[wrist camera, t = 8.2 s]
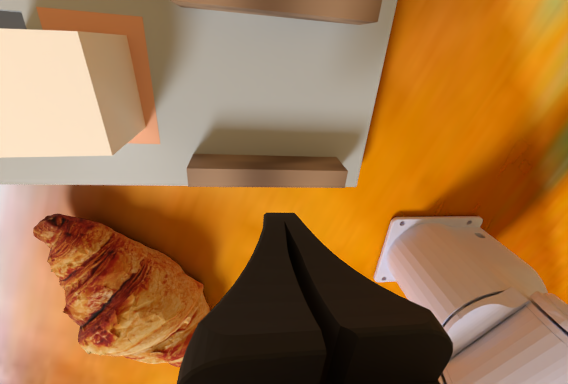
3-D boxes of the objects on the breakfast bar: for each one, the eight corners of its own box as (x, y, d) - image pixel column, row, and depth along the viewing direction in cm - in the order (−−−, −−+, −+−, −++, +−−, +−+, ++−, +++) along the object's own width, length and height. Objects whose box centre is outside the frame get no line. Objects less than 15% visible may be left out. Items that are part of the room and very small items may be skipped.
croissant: (231, 308, 34) (262, 354, 27) (160, 374, 31) (176, 444, 24) (106, 170, 23) (109, 192, 17) (-23, 249, 20) (-82, 314, 14)
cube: (126, 35, 15) (77, 31, 10) (145, 127, 17) (112, 155, 13) (23, 31, 14) (-76, 25, 10) (58, 127, 16) (-9, 157, 12)
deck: (385, -16, 17) (402, -22, 15) (347, 176, 23) (356, 186, 21) (-176, -86, 13) (-243, -107, 11) (-42, 170, 19) (-71, 183, 17)
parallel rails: (363, 0, 15) (383, -7, 13) (333, 172, 20) (344, 187, 18) (178, -22, 14) (166, -34, 12) (194, 170, 19) (188, 186, 17)
